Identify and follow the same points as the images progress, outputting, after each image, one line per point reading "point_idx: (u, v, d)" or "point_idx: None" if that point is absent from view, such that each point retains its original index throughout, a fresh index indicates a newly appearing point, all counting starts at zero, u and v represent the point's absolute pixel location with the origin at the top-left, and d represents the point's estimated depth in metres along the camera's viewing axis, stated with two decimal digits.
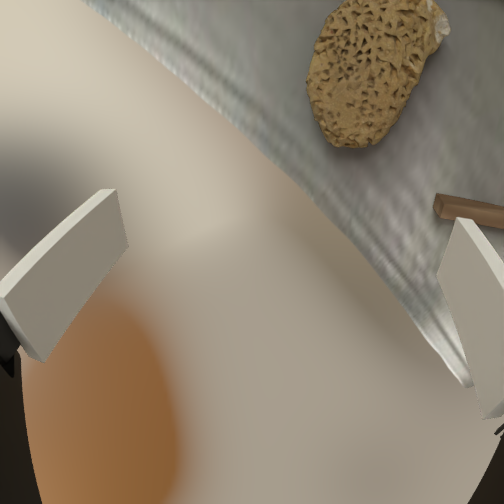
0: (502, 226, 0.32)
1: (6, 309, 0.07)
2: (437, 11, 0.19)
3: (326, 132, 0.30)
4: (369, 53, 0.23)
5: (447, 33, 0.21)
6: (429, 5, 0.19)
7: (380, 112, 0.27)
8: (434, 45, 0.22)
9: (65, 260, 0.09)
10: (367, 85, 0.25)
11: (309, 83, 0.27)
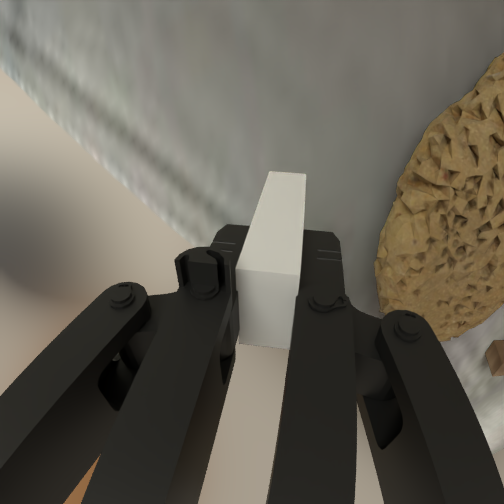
0: None
1: (258, 286, 0.08)
2: None
3: None
4: (499, 226, 0.12)
5: None
6: None
7: (482, 309, 0.15)
8: None
9: None
10: (479, 277, 0.14)
11: (383, 265, 0.16)
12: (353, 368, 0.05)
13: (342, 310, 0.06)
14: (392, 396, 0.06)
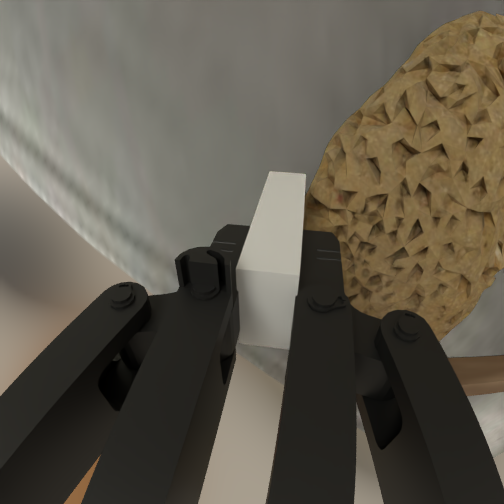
0: None
1: (258, 286, 0.08)
2: None
3: None
4: (421, 252, 0.11)
5: None
6: None
7: None
8: None
9: None
10: (405, 309, 0.13)
11: None
12: (352, 368, 0.05)
13: (341, 310, 0.06)
14: (392, 396, 0.06)
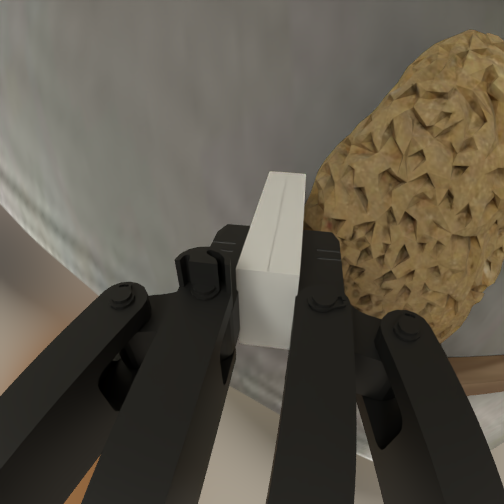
0: (471, 393, 0.21)
1: (258, 286, 0.08)
2: None
3: None
4: (409, 274, 0.12)
5: None
6: None
7: None
8: None
9: None
10: None
11: None
12: (352, 368, 0.05)
13: (341, 310, 0.06)
14: (392, 396, 0.06)
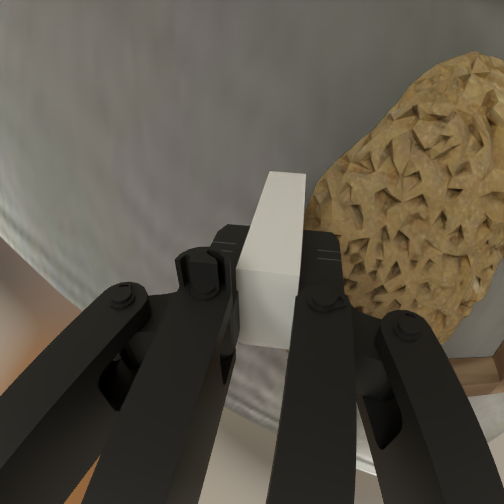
0: None
1: (258, 286, 0.08)
2: None
3: None
4: (400, 289, 0.13)
5: None
6: None
7: None
8: None
9: None
10: None
11: None
12: (352, 368, 0.05)
13: (341, 310, 0.06)
14: (392, 396, 0.06)
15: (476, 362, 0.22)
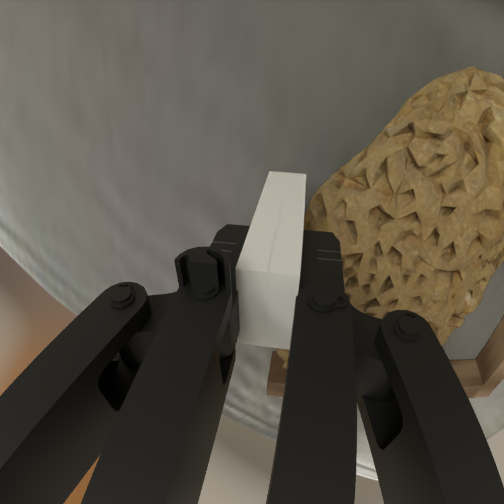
0: None
1: (258, 286, 0.08)
2: None
3: None
4: (392, 301, 0.13)
5: None
6: None
7: None
8: None
9: None
10: None
11: None
12: (353, 368, 0.05)
13: (342, 310, 0.06)
14: (392, 396, 0.06)
15: (457, 364, 0.22)
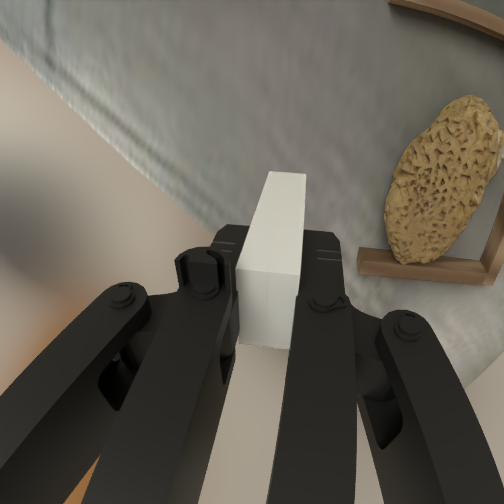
0: (433, 278, 0.36)
1: (258, 286, 0.08)
2: (503, 141, 0.23)
3: (397, 255, 0.34)
4: (444, 191, 0.27)
5: None
6: (499, 136, 0.23)
7: (444, 239, 0.31)
8: (495, 171, 0.26)
9: None
10: (438, 219, 0.29)
11: (388, 214, 0.31)
12: (353, 368, 0.05)
13: (342, 310, 0.06)
14: (392, 396, 0.06)
15: (468, 261, 0.37)
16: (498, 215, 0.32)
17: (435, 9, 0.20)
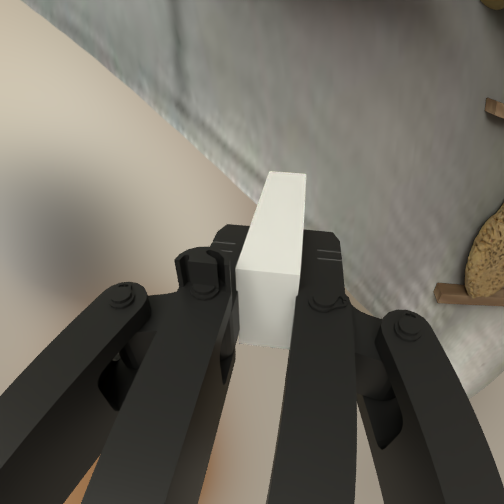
0: (484, 303, 0.45)
1: (258, 286, 0.08)
2: None
3: (471, 293, 0.43)
4: None
5: None
6: None
7: (501, 282, 0.40)
8: None
9: None
10: (500, 270, 0.38)
11: (470, 268, 0.41)
12: (353, 368, 0.05)
13: (342, 310, 0.06)
14: (392, 396, 0.06)
15: None
16: None
17: None
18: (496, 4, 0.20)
